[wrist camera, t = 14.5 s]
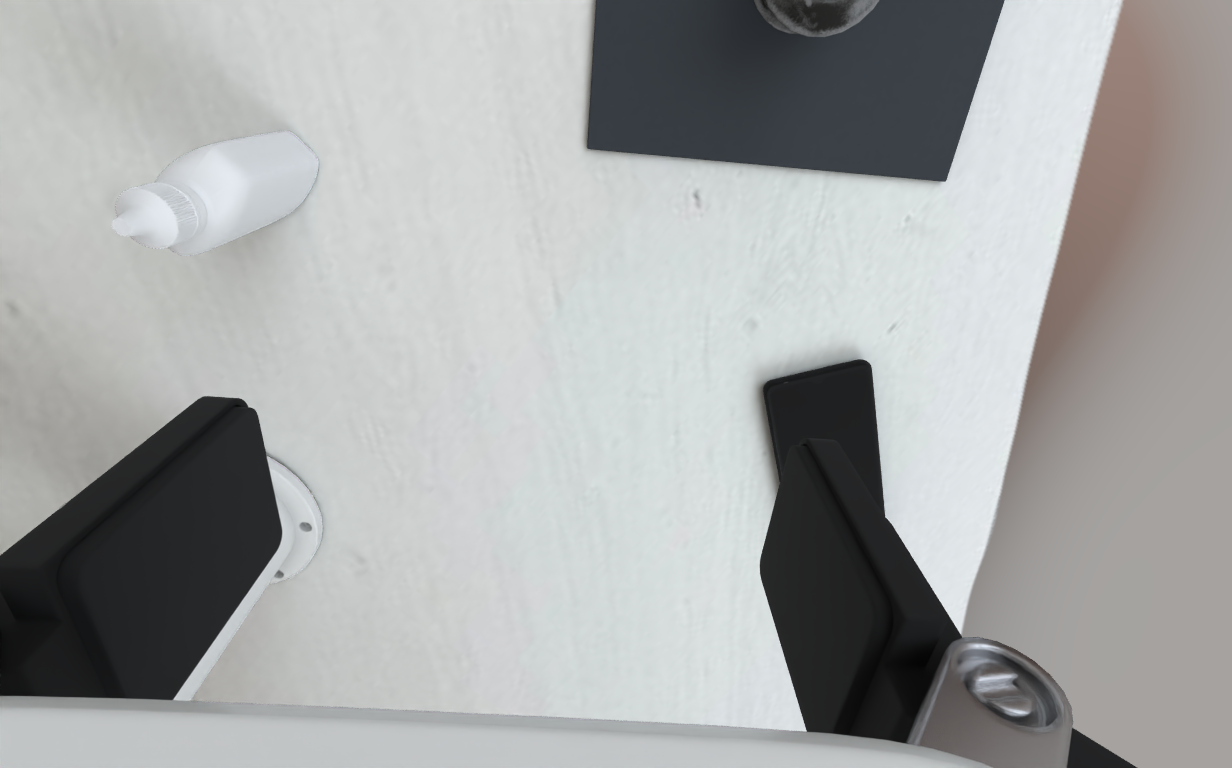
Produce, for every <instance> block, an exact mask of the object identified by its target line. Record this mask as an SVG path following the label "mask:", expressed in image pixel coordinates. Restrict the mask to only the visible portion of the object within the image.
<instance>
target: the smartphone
mask: <svg viewBox="0 0 1232 768" xmlns="http://www.w3.org/2000/svg"><path fill="white" fill-rule="evenodd" d="M763 393H764V399H765V404H766V410H767V415H768V421H769V426H770V432H771V437H772V442H773V448H774V453H775V459H776V464H777V469H778V475H779V480H780V481H781V477H782V474H783V470H784V466H785V462H786V458H787V454H788V451H789V449H790V447H791V446H792V445H799V443H800V442H801V440H802V439H804V438H813V439H828V440H836V441H837V442H838V443H839V444H840V445H841V447H842V449H843V450H844V452H845V453H846V455H847V457H848V458H849V460H850V462H851V463H852V465H853V466H854V468H855V470H856V471H857V473H858V474H859V476H860V478H861V479H862V481H863V482H864V484H865V486H866V487H867V489H868V491H869V492H870V494H871V495H872V497H873V499H874V500H875V502H876V503H877V505H878V507H879V508H880V510H881V511H882V513H883V515H884V516H885V510H884V499H883V488H882V476H881V465H880V454H879V443H878V432H877V421H876V409H875V398H874V387H873V377H872V368H871V365H870V364H869V363H868V362H867V361H865V360H862V359H858V360H854V361H849V362H845V363H841V364H837V365H832V366H828V367H824V368H820V369H815V370H811V371H807V372H803V373H798V374H794V375H790V376H786V377H782V378H778V379H773V380H770V381H768V382H767V383H766V384H765V386H764V388H763Z"/></svg>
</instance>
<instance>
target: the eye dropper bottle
mask: <svg viewBox="0 0 1232 768" xmlns="http://www.w3.org/2000/svg"><path fill="white" fill-rule="evenodd" d="M318 168H319V160H318V158H317V156H316V155H315V153H314V152H313V151H312V150H311V149H310V148H309V147H308V146H307V145H306V144H305V143H303V142H302V141H301V140H300V139H299V138H298V137H297V136H296V135H295V134H293V133H292V132H290V131H277V132H271V133H266V134H260V135H254V136H249V137H243V138H238V139H232V140H227V141H222V142H217V143H213V144H209V145H205V146H202V147H200V148H197V149H194V150H192V151H190V152H188V153H186V154H184V155H182V156H181V157H179V158H177V159H176V160H175V161H173V162H172V163H171V164H169V165H168V166H167V167H166V168H165V169H164V170H163V171H162V172H161V173H160V175H159V176H158V177H157V179H156V180H155V182H154V183H150V184H146V185H141V186H137V187H133V188H130V189H127V190H125V191H124V192H122V193H121V194H120V196H119V198H117V201H116V206H115V208H116V209H115V210H116V216H117V217H116V218H115V219H113V221H112V228H113V230H114V231H115V232H116V233H117V234H119V235H121V236H130V237H131V238H132V239H133V240H135V241H136V242H138V243H139V244H141V245H144V246H147V247H149V248H155V249H160V248H161V249H163V248H167V247H168V248H169V249H170V250H172V251H173V252H175V253H177V254H179V255H182V256H193V255H197V254H201V253H204V252H206V251H209V250H211V249H214V248H216V247H219V246H221V245H223V244H225V243H228V242H230V241H232V240H235V239H237V238H239V237H242V236H244V235H246V234H248V233H251V232H253V231H255V230H257V229H260V228H262V227H264V226H267V225H269V224H271V223H273V222H275V221H278V220H280V219H281V218H283V217H285V216H287V215H288V214H290V213H291V212H292V211H293V210H295V209H296V208H297V207H298V206H299V205H300V204H301V203H302V202H303V201H304V199H305V198H306V197H307V195H308V194H309V192H310V190H311V188H312V186H313V184H314V182H315V179H316V176H317V173H318Z"/></svg>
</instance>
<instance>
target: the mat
mask: <svg viewBox="0 0 1232 768" xmlns="http://www.w3.org/2000/svg"><path fill="white" fill-rule="evenodd" d="M1003 3H1004V0H879V1H878V3H877V4H876V6H875V7H874V9H873V10H872V11H870V12H869V13H868V14H867V15H866V16H865V17H864V18H863V19H862V20H861V21H860V22H859V23H857V24H855V25H854V26H852V27H850V28H849V29H847V30H845V31H844V32H841V33H837V34H834V35H830V36H826V37H808V36H805V35H802V34H789V33H786V32H783V31H781V30H778V29H776V28H775V27H773V26H772V25H771V24H769V23H768V22H767V21H765V19H764V18H763V16H762V15H761V14H760V12H759V11H758V10H757V7H756V5H755V2H754V0H596V15H595V32H594V48H593V65H592V81H591V98H590V114H589V131H588V147H587V148H588V149H594V150H605V151H616V152H627V153H638V154H649V155H660V156H671V157H682V158H693V159H704V160H715V161H726V162H737V163H748V164H759V165H770V166H781V167H792V168H803V169H814V170H825V171H835V172H846V173H857V174H868V175H879V176H890V177H901V178H912V179H923V180H934V181H946V180H947V176H948V173H949V170H950V167H951V164H952V161H953V158H954V155H955V152H956V149H957V146H958V143H959V139H960V136H961V133H962V130H963V127H964V124H965V121H966V118H967V115H968V112H969V109H970V105H971V102H972V99H973V96H974V93H975V90H976V87H977V84H978V81H979V78H980V75H981V71H982V68H983V65H984V62H985V59H986V56H987V53H988V50H989V47H990V44H991V41H992V37H993V34H994V31H995V28H996V25H997V22H998V19H999V16H1000V13H1001V10H1002V7H1003Z"/></svg>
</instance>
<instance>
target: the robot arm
mask: <svg viewBox="0 0 1232 768" xmlns="http://www.w3.org/2000/svg"><path fill="white" fill-rule="evenodd" d="M322 532H323V524H322V516H321V513H320V510H319V508H318V505H317V503H316V501H315V499H314V498H313V496H312V494H311V493H310V491H309V490H308V488H307V487H306V486H305V485H304V484H303V483H302V482H301V480H300V479H299V478H298V477H297V476H295V475H294V474H293V473H292V472H291V471H289V470H288V469H287V468H286V467H285V466H283V465H282V464H280V463H278V462H277V461H275V460H273V459H272V458H270V457H268V456H266V451H265V446H264V442H263V437H262V433H261V428H260V423H259V419H258V415H257V412H256V411H255V410H254V409H253V408H248V405H247V404H246V402H245V401H244V400H242V399H239V398H225V397H210V396H205V397H202V398H200V399H198V400H197V401H195V402H194V403H193V404H192V405H190V406H189V407H188V408H187V409H185V410H184V411H183V412H182V413H180V414H179V415H178V416H176V417H175V418H174V419H173V420H171V421H170V422H169V423H168V424H166V425H165V426H164V427H163V428H161V429H160V430H159V431H157V432H156V433H155V434H154V435H152V436H151V437H150V438H149V439H147V440H146V441H145V442H144V443H142V444H141V445H140V446H138V447H137V448H136V449H135V450H133V451H132V452H131V453H130V454H128V455H127V456H126V457H124V458H123V459H122V460H121V461H119V462H118V463H117V464H116V465H114V466H113V467H112V468H111V469H109V470H108V471H107V472H105V473H104V474H103V475H102V476H100V477H99V478H98V479H97V480H95V481H94V482H93V483H92V484H90V485H89V486H88V487H86V488H85V489H84V490H83V491H81V492H80V493H79V494H78V495H76V496H75V497H74V498H73V499H71V500H70V501H69V502H67V503H65V504H64V505H62V506H61V507H60V508H59V510H57V511H56V512H55V513H54V514H52V515H51V516H50V517H48V518H47V519H46V520H45V521H43V522H42V523H41V524H40V525H38V526H37V527H36V528H35V529H33V530H32V531H31V532H29V533H28V534H27V535H26V536H24V537H23V538H22V539H21V540H19V541H18V542H17V543H16V544H14V545H13V546H12V547H10V548H9V549H8V550H7V551H5V552H4V553H3V554H2V555H0V768H1137V767H1135V766H1133V765H1132V764H1130V763H1129V762H1127V761H1125V760H1124V759H1122V758H1121V757H1119V756H1117V755H1115V754H1114V753H1112V752H1111V751H1109V750H1108V749H1106V748H1104V747H1103V746H1101V745H1099V744H1098V743H1096V742H1094V741H1093V740H1091V739H1090V738H1088V737H1086V736H1085V735H1083V734H1081V733H1080V732H1078V731H1077V730H1075V729H1073V728H1072V725H1073V717H1072V708H1071V705H1070V703H1069V701H1068V699H1067V697H1066V695H1065V693H1064V691H1063V690H1062V689H1061V687H1060V686H1059V685H1058V684H1057V683H1056V681H1055V680H1054V679H1053V678H1052V676H1051V675H1050V674H1049V673H1047V672H1046V671H1045V670H1044V669H1043V668H1042V667H1040V666H1039V665H1038V664H1037V663H1036V662H1035V661H1033V660H1032V659H1030V658H1029V657H1027V656H1025V655H1023V654H1022V653H1021V652H1019V651H1017V650H1015V649H1013V648H1011V647H1009V646H1007V645H1004V644H1002V643H999V642H997V641H993V640H989V639H984V638H980V637H968V638H962V636H961V634H960V633H959V631H958V630H957V628H956V626H955V625H954V623H953V622H952V620H951V618H950V617H949V615H948V614H947V612H946V610H945V609H944V607H943V606H942V604H941V602H940V601H939V599H938V598H937V596H936V594H935V593H934V591H933V590H932V588H931V586H930V585H929V583H928V582H927V580H926V578H925V577H924V575H923V574H922V572H921V570H920V569H919V567H918V566H917V564H916V562H915V561H914V559H913V558H912V556H911V555H910V553H909V551H908V550H907V548H906V547H905V545H904V543H903V542H902V540H901V539H900V537H899V535H898V534H897V532H896V531H895V529H894V527H893V526H892V524H891V523H890V522H889V521H888V520H887V518H885V516H884V515H883V513H882V511H881V510H880V508H879V507H878V505H877V503H876V502H875V500H874V499H873V497H872V495H871V494H870V492H869V491H868V489H867V487H866V486H865V484H864V482H863V481H862V479H861V478H860V476H859V474H858V473H857V471H856V470H855V468H854V466H853V465H852V463H851V462H850V460H849V458H848V457H847V455H846V453H845V452H844V450H843V449H842V447H841V445H840V444H839V443H838V442H837V441H836V440H828V439H813V438H804V439H802V440H801V442H800V443H799V445H792V446H791V447H790V449H789V451H788V454H787V458H786V462H785V466H784V470H783V474H782V477H781V481H780V485H779V489H778V493H777V497H776V500H775V504H774V508H773V512H772V516H771V520H770V524H769V527H768V531H767V535H766V539H765V543H764V547H763V551H762V554H761V559H760V575H761V580H762V583H763V586H764V590H765V593H766V596H767V600H768V603H769V606H770V610H771V613H772V616H773V620H774V623H775V627H776V630H777V633H778V637H779V640H780V643H781V647H782V650H783V653H784V657H785V660H786V663H787V667H788V670H789V673H790V677H791V680H792V683H793V687H794V690H795V693H796V697H797V700H798V703H799V707H800V710H801V713H802V717H803V720H804V723H805V727H806V730H807V732H802V731H788V730H774V729H759V728H745V727H730V726H715V725H695V724H676V723H657V722H638V721H619V720H600V719H580V718H561V717H542V716H520V715H499V714H478V713H457V712H436V711H414V710H392V709H370V708H348V707H326V706H301V705H277V704H252V703H228V702H203V701H191V699H192V698H193V696H194V695H195V693H196V692H197V690H198V689H199V687H200V686H201V684H202V683H203V681H204V680H205V678H206V677H207V675H208V674H209V672H210V671H211V669H212V668H213V666H214V665H215V663H216V662H217V660H218V659H219V657H220V656H221V654H222V653H223V651H224V650H225V648H226V647H227V645H228V644H229V642H230V641H231V639H232V638H233V636H234V635H235V633H236V632H237V630H238V629H239V627H240V626H241V624H242V623H243V621H244V620H245V618H246V617H247V615H248V614H249V612H250V611H251V610H252V608H253V607H254V605H255V604H256V602H257V601H258V599H259V598H260V596H261V595H262V593H263V592H264V590H265V589H266V587H267V586H268V584H274V583H278V582H281V581H283V580H286V579H289V578H291V577H292V576H294V575H296V574H297V573H299V572H300V571H301V570H302V569H304V568H305V567H306V566H307V565H308V564H309V562H310V561H311V559H312V558H313V556H314V555H315V553H316V552H317V549H318V547H319V545H320V543H321V539H322Z"/></svg>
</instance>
